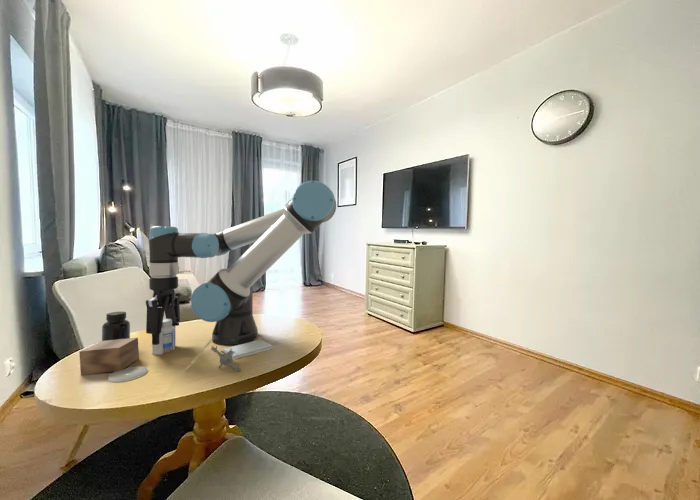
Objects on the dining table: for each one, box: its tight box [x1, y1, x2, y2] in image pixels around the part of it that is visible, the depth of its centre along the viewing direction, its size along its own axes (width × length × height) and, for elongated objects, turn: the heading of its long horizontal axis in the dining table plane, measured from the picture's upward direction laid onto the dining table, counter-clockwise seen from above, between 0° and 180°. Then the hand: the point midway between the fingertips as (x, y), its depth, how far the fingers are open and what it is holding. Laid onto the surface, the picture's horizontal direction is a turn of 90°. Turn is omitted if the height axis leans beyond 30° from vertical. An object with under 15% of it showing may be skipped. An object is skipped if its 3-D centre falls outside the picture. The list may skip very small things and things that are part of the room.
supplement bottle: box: [101, 311, 131, 341], centre depth 91 cm, size 7×7×12 cm
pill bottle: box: [161, 318, 176, 354], centre depth 92 cm, size 6×5×10 cm
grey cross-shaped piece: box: [210, 345, 242, 372], centre depth 81 cm, size 10×6×9 cm
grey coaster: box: [107, 365, 148, 383], centre depth 75 cm, size 8×8×1 cm
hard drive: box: [222, 339, 273, 360], centre depth 94 cm, size 2×8×12 cm
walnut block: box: [78, 337, 140, 376], centre depth 80 cm, size 9×9×6 cm
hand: (164, 350), depth 92 cm, fingers open, 6 cm apart
